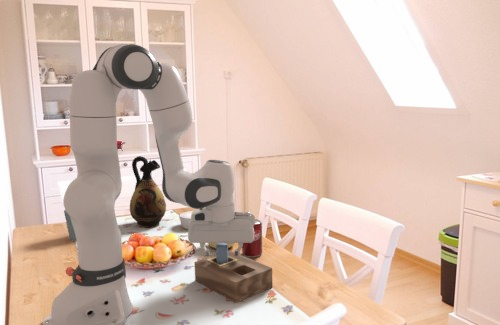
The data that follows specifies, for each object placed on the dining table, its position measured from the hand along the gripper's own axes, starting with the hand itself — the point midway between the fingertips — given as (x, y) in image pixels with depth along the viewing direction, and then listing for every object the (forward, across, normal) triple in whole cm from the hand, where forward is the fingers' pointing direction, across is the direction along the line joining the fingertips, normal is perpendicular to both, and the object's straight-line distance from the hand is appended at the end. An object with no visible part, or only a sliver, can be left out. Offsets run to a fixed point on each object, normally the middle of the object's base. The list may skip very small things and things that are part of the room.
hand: (222, 255), depth 140 cm
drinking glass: (+8, +62, -39) cm, 74 cm away
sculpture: (+8, +4, -28) cm, 30 cm away
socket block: (+8, -4, +4) cm, 9 cm away
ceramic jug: (+8, +39, -55) cm, 68 cm away
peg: (+7, 0, 0) cm, 7 cm away
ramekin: (+8, +18, -53) cm, 57 cm away
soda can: (+8, -8, -20) cm, 23 cm away
